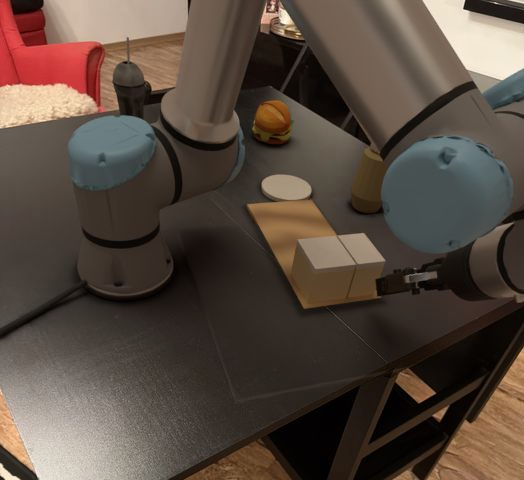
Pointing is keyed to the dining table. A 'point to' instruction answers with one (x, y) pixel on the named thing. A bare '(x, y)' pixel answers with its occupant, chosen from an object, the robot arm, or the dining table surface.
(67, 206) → the dining table surface
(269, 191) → the plate
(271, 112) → the cheeseburger
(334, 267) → the cake
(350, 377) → the dining table surface
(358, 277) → the cake slice
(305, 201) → the serving board
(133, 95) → the beverage cup
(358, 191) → the squeeze bottle
